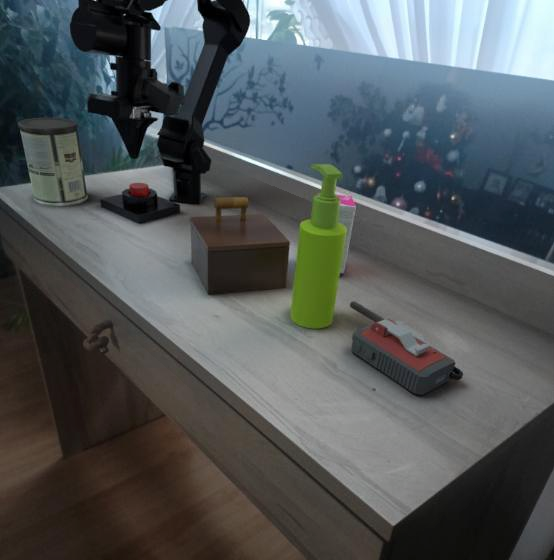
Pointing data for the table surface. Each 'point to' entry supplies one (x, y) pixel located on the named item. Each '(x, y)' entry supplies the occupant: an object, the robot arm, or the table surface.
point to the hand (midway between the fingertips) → (134, 158)
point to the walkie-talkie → (402, 353)
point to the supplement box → (346, 223)
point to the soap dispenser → (319, 256)
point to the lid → (237, 228)
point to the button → (139, 189)
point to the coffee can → (54, 160)
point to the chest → (239, 267)
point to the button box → (140, 206)
